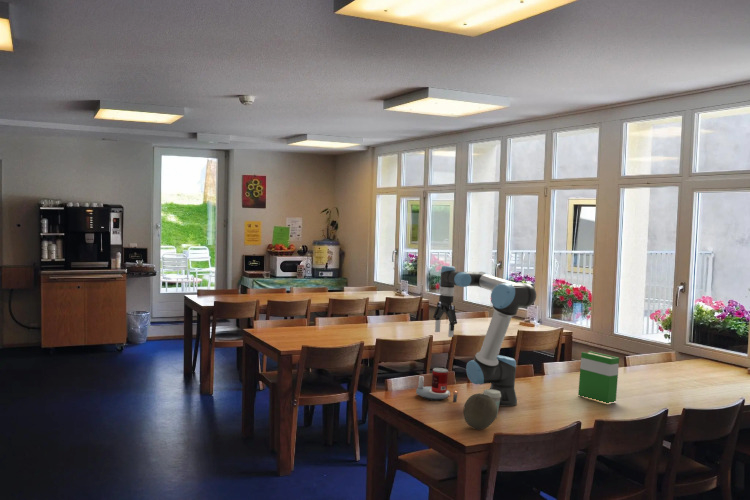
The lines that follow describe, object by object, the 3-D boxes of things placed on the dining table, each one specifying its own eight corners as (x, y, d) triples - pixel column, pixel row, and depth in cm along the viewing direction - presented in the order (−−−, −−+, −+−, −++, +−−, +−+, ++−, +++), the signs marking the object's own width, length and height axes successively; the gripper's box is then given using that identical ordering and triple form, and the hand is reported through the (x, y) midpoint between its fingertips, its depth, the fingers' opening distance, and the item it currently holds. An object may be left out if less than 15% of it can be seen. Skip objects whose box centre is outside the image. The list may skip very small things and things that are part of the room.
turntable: (452, 391, 331) (453, 377, 331) (450, 400, 315) (451, 385, 314) (418, 388, 335) (419, 373, 334) (414, 396, 318) (415, 381, 318)
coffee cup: (479, 413, 302) (480, 388, 302) (496, 414, 303) (498, 389, 302) (483, 419, 294) (485, 393, 293) (501, 420, 294) (503, 394, 294)
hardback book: (578, 396, 346) (581, 352, 345) (586, 394, 350) (589, 351, 349) (607, 405, 332) (611, 358, 331) (615, 403, 336) (619, 357, 335)
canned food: (448, 390, 326) (449, 369, 326) (444, 394, 319) (446, 372, 318) (433, 388, 329) (435, 367, 328) (429, 391, 321) (430, 370, 321)
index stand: (457, 401, 321) (458, 391, 320) (444, 405, 313) (445, 394, 313) (431, 393, 332) (432, 383, 332) (418, 397, 325) (419, 386, 325)
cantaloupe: (484, 436, 270) (486, 400, 269) (456, 427, 279) (458, 393, 279) (501, 429, 280) (504, 395, 280) (474, 421, 290) (476, 388, 289)
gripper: (428, 291, 354) (426, 330, 355) (453, 298, 332) (450, 338, 333) (440, 292, 357) (437, 330, 358) (465, 298, 335) (462, 338, 336)
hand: (443, 334), depth 346 cm, fingers open, 13 cm apart
